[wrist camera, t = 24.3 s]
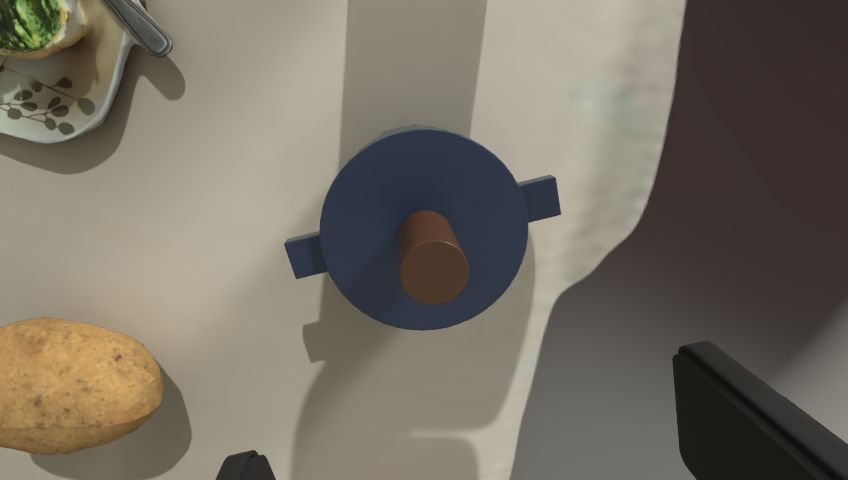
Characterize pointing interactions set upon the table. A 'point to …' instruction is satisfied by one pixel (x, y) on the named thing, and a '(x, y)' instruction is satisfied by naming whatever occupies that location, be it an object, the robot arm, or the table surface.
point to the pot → (535, 191)
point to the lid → (423, 229)
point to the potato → (72, 386)
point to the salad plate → (67, 63)
